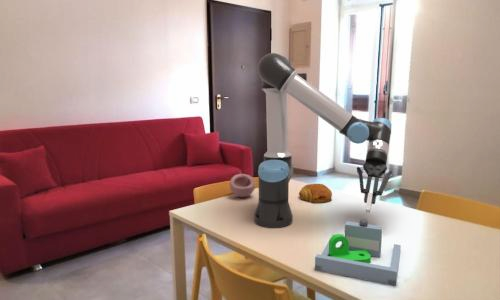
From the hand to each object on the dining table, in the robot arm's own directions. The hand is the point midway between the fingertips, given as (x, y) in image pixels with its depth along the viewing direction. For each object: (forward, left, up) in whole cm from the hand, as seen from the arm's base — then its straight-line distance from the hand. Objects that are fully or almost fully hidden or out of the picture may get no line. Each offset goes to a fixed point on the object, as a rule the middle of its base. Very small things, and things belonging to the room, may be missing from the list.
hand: (367, 211), depth 131 cm
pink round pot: (-61, +24, -9) cm, 66 cm away
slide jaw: (0, -15, -9) cm, 17 cm away
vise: (0, -20, -9) cm, 21 cm away
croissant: (-27, +35, -9) cm, 45 cm away
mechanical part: (-2, -22, -9) cm, 24 cm away
